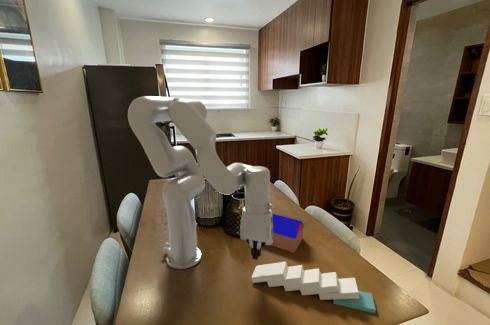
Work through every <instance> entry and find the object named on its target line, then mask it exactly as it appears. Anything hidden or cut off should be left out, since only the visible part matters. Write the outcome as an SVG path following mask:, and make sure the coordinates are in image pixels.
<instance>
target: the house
mask: <svg viewBox="0 0 490 325" xmlns="http://www.w3.org/2000/svg"><path fill="white" fill-rule="evenodd" d="M272 216H273V236H272V240H273V243H272V245H271V246H272V247H276V248H278V249H281V250H284V251H288V252H290V253H293V254H295V252H296V250H297V249H298V247H299V246H300V244H301V243H302V241H303V239H304V230H305V229H304V228H305V224H304V222H302V220H299V219H296V218H291V217H287V216H283V215H280V214H276V213H272Z"/></svg>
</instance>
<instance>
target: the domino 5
mask: <svg viewBox="0 0 490 325" xmlns="http://www.w3.org/2000/svg"><path fill="white" fill-rule="evenodd" d="M338 285H339V292H332V293H322V294H318V297H319V299H320V301H324V300H328V301H330V300H333V299H358V298H360V297H359V292H358V291H359V289H358V285H357V281H356V277H345V278H343V277H342V278H338Z"/></svg>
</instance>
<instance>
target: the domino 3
mask: <svg viewBox="0 0 490 325" xmlns="http://www.w3.org/2000/svg"><path fill="white" fill-rule="evenodd" d="M321 274H322V273H321V271H320V268H312V269H310V268H309V269H305V270H304V275H303V283H301V284H292V285H283V287H284V290H285V292H292V291H300V290H302V289H312V288H321Z"/></svg>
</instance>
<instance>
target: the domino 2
mask: <svg viewBox="0 0 490 325" xmlns="http://www.w3.org/2000/svg"><path fill="white" fill-rule="evenodd" d="M303 275H304V267H303V264H299V265H292V266H288V269H287V274H286V278H285V279H283V280H274V281H266V283H267V285H268V287H269V288H273V287H280V286H283V287H284V285H292V284H301V283H303Z"/></svg>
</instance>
